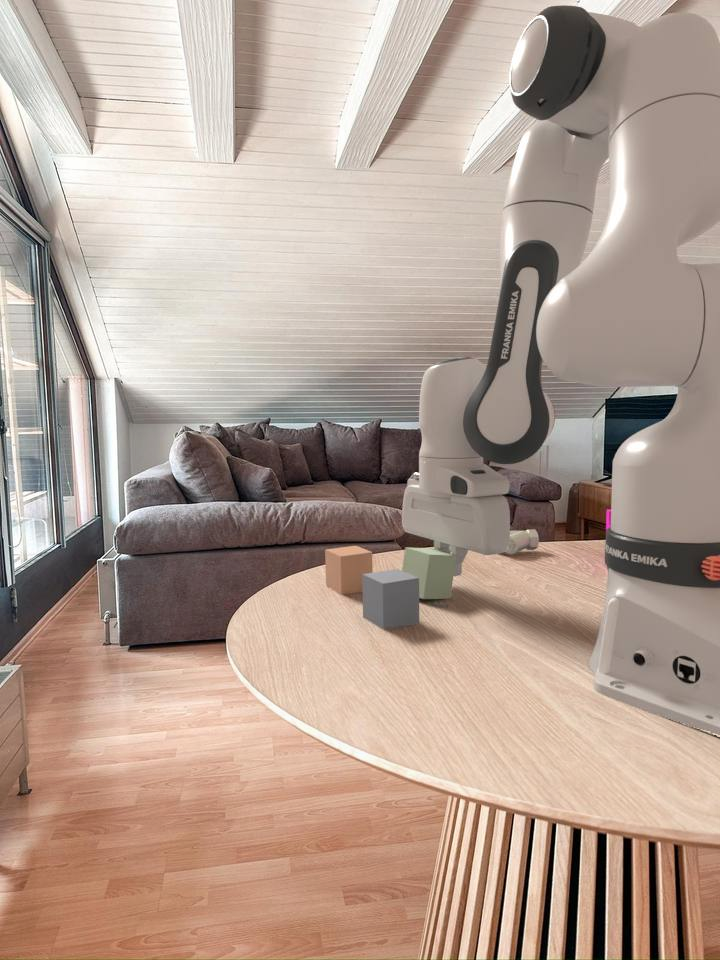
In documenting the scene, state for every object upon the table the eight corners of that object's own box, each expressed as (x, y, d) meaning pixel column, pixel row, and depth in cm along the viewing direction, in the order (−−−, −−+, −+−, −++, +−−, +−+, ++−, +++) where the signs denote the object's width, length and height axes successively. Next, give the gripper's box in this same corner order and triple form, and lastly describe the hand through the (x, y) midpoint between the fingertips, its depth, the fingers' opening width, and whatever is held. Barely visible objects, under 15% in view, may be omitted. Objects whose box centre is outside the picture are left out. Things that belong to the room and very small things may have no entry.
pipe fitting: (503, 536, 112) (490, 527, 118) (502, 557, 112) (489, 547, 119) (547, 536, 113) (532, 527, 119) (545, 557, 113) (530, 547, 120)
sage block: (450, 598, 88) (456, 555, 88) (423, 599, 85) (429, 554, 85) (425, 589, 92) (431, 548, 92) (399, 590, 89) (405, 547, 89)
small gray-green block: (447, 607, 84) (447, 606, 84) (440, 608, 84) (440, 607, 84) (438, 603, 86) (438, 602, 86) (431, 604, 85) (431, 603, 85)
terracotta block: (372, 593, 91) (372, 552, 91) (341, 598, 89) (340, 556, 88) (356, 585, 96) (355, 545, 95) (326, 590, 93) (325, 549, 93)
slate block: (419, 626, 77) (419, 577, 77) (383, 633, 75) (382, 583, 74) (397, 615, 82) (397, 568, 81) (363, 621, 79) (362, 574, 79)
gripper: (391, 472, 97) (392, 561, 98) (480, 485, 79) (479, 594, 81) (425, 469, 100) (425, 556, 101) (519, 482, 82) (517, 587, 84)
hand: (450, 573), depth 91 cm, fingers closed
